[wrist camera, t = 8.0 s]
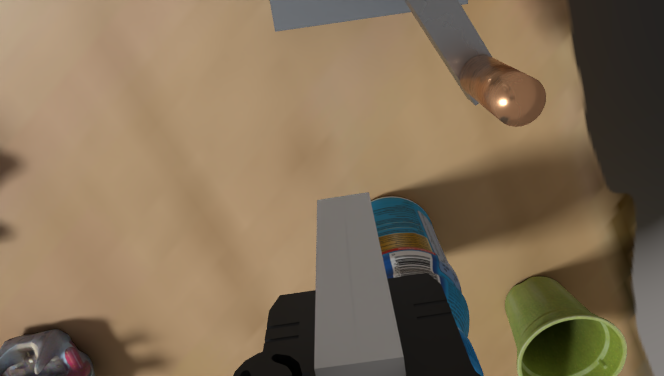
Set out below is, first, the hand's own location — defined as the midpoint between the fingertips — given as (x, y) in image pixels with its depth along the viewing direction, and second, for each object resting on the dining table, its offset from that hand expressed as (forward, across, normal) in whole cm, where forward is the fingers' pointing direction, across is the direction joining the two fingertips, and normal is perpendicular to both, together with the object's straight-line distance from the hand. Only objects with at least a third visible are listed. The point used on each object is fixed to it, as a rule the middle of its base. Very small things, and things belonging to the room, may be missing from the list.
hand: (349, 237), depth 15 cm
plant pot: (+29, +17, -27) cm, 43 cm away
